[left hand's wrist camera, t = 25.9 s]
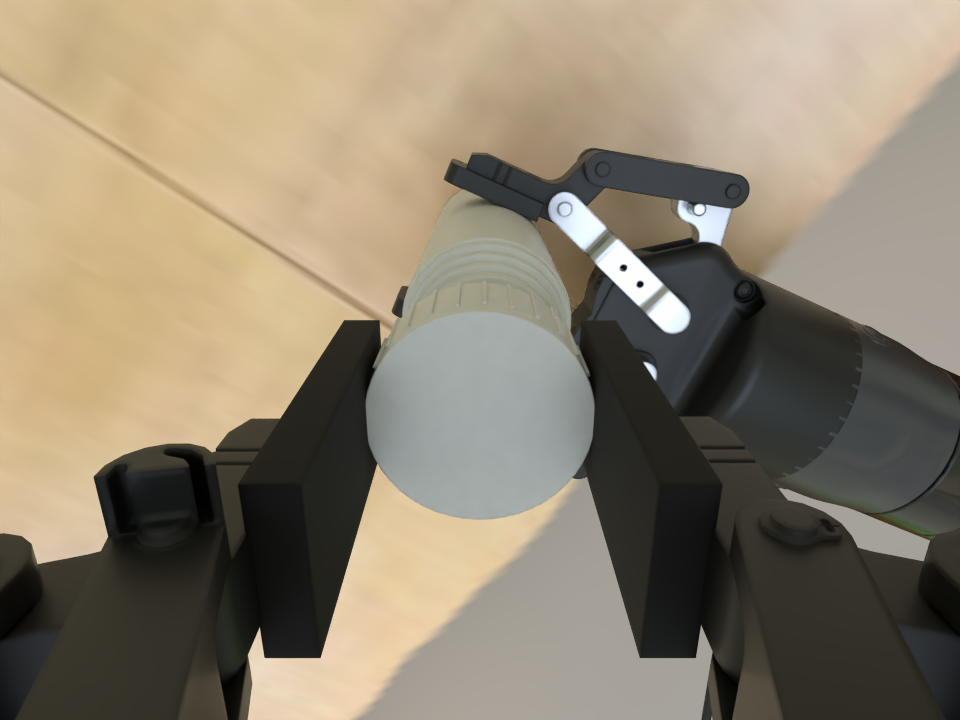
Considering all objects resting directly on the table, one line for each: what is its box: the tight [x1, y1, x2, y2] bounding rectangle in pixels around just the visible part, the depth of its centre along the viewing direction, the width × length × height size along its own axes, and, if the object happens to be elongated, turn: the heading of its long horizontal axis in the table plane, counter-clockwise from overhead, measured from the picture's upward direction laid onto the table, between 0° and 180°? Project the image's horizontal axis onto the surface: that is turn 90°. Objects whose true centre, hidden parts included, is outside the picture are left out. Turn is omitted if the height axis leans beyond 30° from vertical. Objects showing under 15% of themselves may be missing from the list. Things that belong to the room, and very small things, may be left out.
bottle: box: [402, 189, 571, 329], centre depth 23 cm, size 5×5×19 cm
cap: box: [366, 281, 595, 520], centre depth 13 cm, size 4×4×2 cm
